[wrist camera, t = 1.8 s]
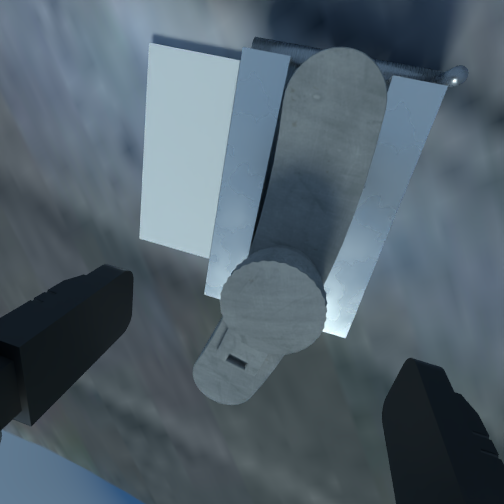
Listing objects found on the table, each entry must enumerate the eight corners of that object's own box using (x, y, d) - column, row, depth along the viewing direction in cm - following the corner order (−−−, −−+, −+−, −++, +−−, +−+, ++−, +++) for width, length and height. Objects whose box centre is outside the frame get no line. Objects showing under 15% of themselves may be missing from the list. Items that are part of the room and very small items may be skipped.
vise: (439, 78, 23) (479, 60, 17) (353, 297, 31) (358, 342, 25) (262, 45, 25) (238, 18, 19) (224, 260, 33) (198, 292, 26)
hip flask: (322, 90, 25) (295, 0, 7) (371, 107, 25) (473, 60, 7) (259, 258, 32) (162, 431, 14) (296, 273, 31) (246, 472, 13)
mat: (241, 61, 26) (239, 60, 25) (211, 256, 33) (209, 258, 32) (152, 44, 27) (149, 42, 26) (142, 236, 34) (139, 238, 34)
